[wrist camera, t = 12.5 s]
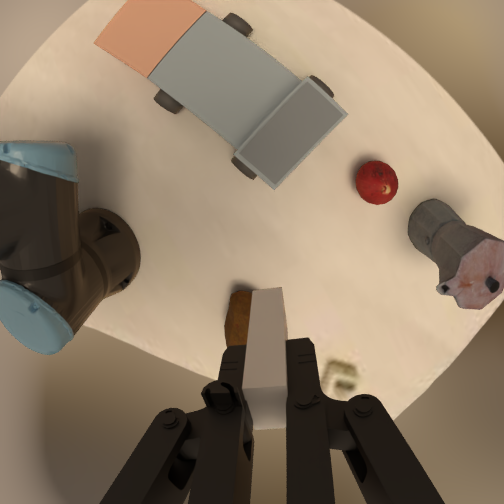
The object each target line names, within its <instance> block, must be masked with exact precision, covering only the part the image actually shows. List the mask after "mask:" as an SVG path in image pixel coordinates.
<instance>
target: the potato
mask: <svg viewBox="0 0 504 504" xmlns="http://www.w3.org/2000/svg"><path fill="white" fill-rule="evenodd" d="M251 301H252V293H250V292H247V291H238V292H235V293H233V294H232V295H231V297H230V303H229V309H228V312H227V316H226V321H225V325H224V328H225V339H226V345H227V348H228V346H234V345H247V338H248V329H249V320H250V311H251Z"/></svg>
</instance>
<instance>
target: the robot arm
mask: <svg viewBox="0 0 504 504" xmlns="http://www.w3.org/2000/svg"><path fill="white" fill-rule="evenodd" d="M78 183H79V178H78V177H77V161H76V152H75V150H74V148H73V147H72V146H71V145H70V144H68V143H65V142H57V141H0V270H1V274H2V280H0V320H1V322H2V323H3V325H4V326H5V327H6V329H7V330H8V331H9V332H10V333H11V334H12V335H13V336H14V337H15V338H16V339H17V340H18V341H19V342H20V343H22V344H23V345H24V346H26V347H28V348H29V349H31V350H33V351H35V352H38V353H41V354H45V355H51V354H55V353H57V352H59V351H60V350H61V349H62V348H63V347H64V346H65V345H66V343H68V342H69V341H71V340H72V339H73V337H74V335H75V334H76V332H77V331H78V330H79V329H80V327H81V326H82V325H83V323H84V322H85V321H86V320H87V318H88V317H89V316H90V315H91V313H92V312H93V311H94V310H95V308H96V307H97V306H98V305H99V303H100V302H101V301H102V300H103V299H105V298H107V297H109V296H112V295H114V294H116V293H119V292H121V291H122V290H124V289H125V288H126V287H127V286H128V285H129V284H130V283H131V282H132V281H133V279H134V278H135V277H136V275H137V273H138V270H139V267H140V250H139V246H138V242H137V240H136V238H135V235H134V234H133V232H132V230H131V229H130V227H129V226H128V225H127V224H126V223H125V222H124V221H123V220H122V219H121V218H120V217H119V216H117V215H116V214H114V213H112V212H110V211H108V210H105V209H99V208H93V209H88V210H85V211H83V212H82V213H80V214H79V211H78ZM201 395H202V397H203V399H204V401H205V404H206V406H207V407H205V408H203V409H201V410H198V411H194V412H190V413H186V414H185V413H184V412H183V411H182V410H180V409H178V408H169V409H165V410H163V411H161V412H160V413H159V414H158V415H157V416H156V417H155V419H154V420H153V422H152V423H151V425H150V426H149V428H148V430H147V431H146V433H145V434H144V436H143V437H142V439H141V440H140V442H139V443H138V445H137V447H136V448H135V450H134V451H133V453H132V454H131V456H130V458H129V459H128V460H127V462H126V464H125V465H124V467H123V468H122V470H121V471H120V473H119V474H118V476H117V478H116V479H115V481H114V482H113V484H112V485H111V487H110V488H109V490H108V491H107V493H106V494H105V496H104V498H103V499H102V501H101V502H100V504H183V503H184V501H185V499H186V497H187V495H188V493H189V491H190V496H189V501H188V504H250V497H251V482H252V468H253V452H254V438H253V434H252V430H253V426H254V429H255V430H260V429H275V428H286V449H287V504H335V498H334V487H333V477H332V468H331V457H330V449H338V450H342V452H343V454H344V456H345V458H346V460H347V463H348V465H349V467H350V469H351V471H352V473H353V475H354V477H355V479H356V482H357V484H358V486H359V488H360V490H361V492H362V494H363V496H364V499H365V501H366V503H367V504H445V503H444V501H443V500H442V498H441V497H440V495H439V493H438V492H437V490H436V488H435V487H434V485H433V483H432V482H431V480H430V479H429V477H428V475H427V474H426V472H425V471H424V469H423V467H422V466H421V464H420V462H419V461H418V459H417V458H416V456H415V455H414V453H413V451H412V450H411V448H410V447H409V445H408V444H407V442H406V440H405V439H404V437H403V436H402V434H401V433H400V431H399V429H398V428H397V426H396V425H395V423H394V422H393V420H392V418H391V417H390V415H389V414H388V412H387V411H386V409H385V408H384V406H383V405H382V403H381V402H380V401H379V400H378V399H377V398H376V397H374V396H372V395H369V394H361V395H356V396H354V397H352V398H351V399H349V401H339V400H334V399H331V398H329V397H327V396H326V395H325V394H324V393H323V392H322V390H321V387H320V380H319V373H318V367H317V360H316V354H315V347H314V344H313V343H312V341H311V340H310V339H309V338H299V339H291V340H288V332H287V323H286V315H285V307H284V300H283V292H282V287H279V288H271V289H262V290H253V292H252V301H251V311H250V320H249V329H248V338H247V345H234V346H228V348H227V349H226V350H225V352H224V353H223V356H222V361H221V366H220V371H219V377H218V380H216V381H213V382H211V383H209V384H208V385H207V386H205V387H204V388H203V391H202V392H201ZM190 489H191V490H190Z"/></svg>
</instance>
